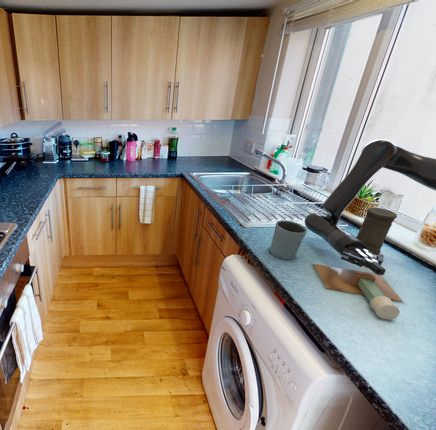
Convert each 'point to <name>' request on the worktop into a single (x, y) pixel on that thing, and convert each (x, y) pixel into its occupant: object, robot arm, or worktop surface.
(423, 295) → the worktop surface
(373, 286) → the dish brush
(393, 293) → the brown flat board
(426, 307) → the worktop surface
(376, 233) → the container
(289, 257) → the grey cup
